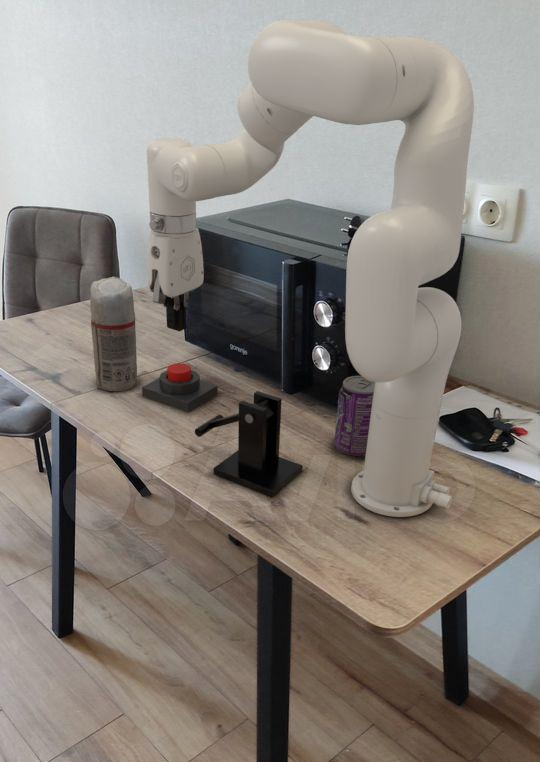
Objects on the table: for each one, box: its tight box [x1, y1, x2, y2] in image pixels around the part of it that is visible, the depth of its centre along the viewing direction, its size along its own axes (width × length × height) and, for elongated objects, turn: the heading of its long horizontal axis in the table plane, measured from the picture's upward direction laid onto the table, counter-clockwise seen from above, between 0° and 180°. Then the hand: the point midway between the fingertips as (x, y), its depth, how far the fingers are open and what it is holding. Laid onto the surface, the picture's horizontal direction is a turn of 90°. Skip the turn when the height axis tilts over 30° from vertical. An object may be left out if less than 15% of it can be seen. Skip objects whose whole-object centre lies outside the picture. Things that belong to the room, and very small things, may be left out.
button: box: [166, 363, 192, 382], centre depth 131 cm, size 4×4×2 cm
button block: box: [141, 369, 219, 413], centre depth 132 cm, size 11×9×4 cm
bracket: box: [213, 390, 303, 498], centre depth 108 cm, size 11×9×13 cm
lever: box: [194, 400, 274, 438], centre depth 109 cm, size 13×6×2 cm, turn 57°
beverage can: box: [333, 375, 375, 457], centre depth 116 cm, size 7×7×12 cm
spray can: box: [89, 275, 138, 392], centre depth 131 cm, size 8×8×20 cm
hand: (176, 328), depth 126 cm, fingers closed
